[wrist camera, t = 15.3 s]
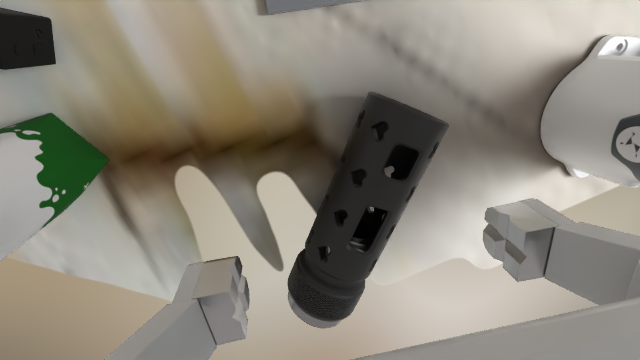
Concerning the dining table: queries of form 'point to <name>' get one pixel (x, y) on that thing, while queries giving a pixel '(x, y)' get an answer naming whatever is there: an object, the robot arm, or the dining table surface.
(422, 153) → the muzzle brake
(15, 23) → the digital camera
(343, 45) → the dining table surface
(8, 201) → the milk carton
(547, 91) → the dining table surface
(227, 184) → the dining table surface
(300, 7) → the socket plate
